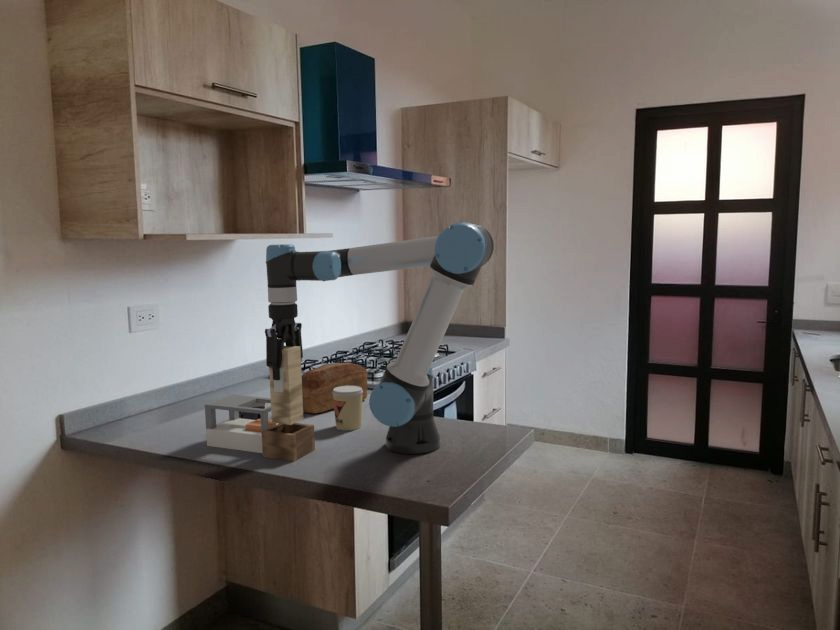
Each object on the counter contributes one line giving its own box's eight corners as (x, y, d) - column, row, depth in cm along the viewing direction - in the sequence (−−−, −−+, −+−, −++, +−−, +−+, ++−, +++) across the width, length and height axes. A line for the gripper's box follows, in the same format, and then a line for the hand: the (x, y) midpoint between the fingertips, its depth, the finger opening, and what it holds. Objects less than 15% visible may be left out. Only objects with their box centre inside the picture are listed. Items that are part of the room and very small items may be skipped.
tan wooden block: (303, 419, 180) (300, 346, 178) (290, 424, 175) (287, 350, 172) (284, 417, 183) (281, 345, 180) (271, 422, 177) (268, 349, 175)
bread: (373, 400, 237) (372, 360, 235) (314, 417, 215) (312, 374, 213) (350, 395, 244) (348, 357, 242) (290, 411, 223) (288, 370, 221)
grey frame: (290, 440, 191) (288, 400, 189) (265, 453, 180) (263, 410, 178) (234, 433, 199) (232, 394, 197) (207, 445, 188) (204, 404, 186)
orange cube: (277, 441, 189) (276, 420, 188) (264, 448, 183) (263, 426, 183) (259, 439, 191) (258, 418, 191) (246, 445, 186) (245, 424, 185)
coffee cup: (329, 425, 206) (327, 387, 204) (357, 421, 210) (356, 383, 208) (339, 433, 197) (338, 393, 196) (368, 428, 202) (367, 389, 200)
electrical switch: (264, 423, 209) (263, 395, 207) (268, 429, 204) (267, 401, 202) (234, 427, 205) (233, 399, 203) (236, 434, 200) (235, 404, 199)
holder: (315, 449, 182) (314, 425, 181) (294, 461, 173) (293, 435, 172) (284, 445, 186) (283, 421, 185) (262, 457, 177) (261, 431, 176)
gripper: (291, 299, 185) (294, 380, 188) (248, 306, 168) (252, 395, 170) (314, 299, 182) (317, 382, 185) (273, 307, 165) (277, 398, 167)
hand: (286, 388), depth 178 cm, fingers closed on tan wooden block, 6 cm apart
